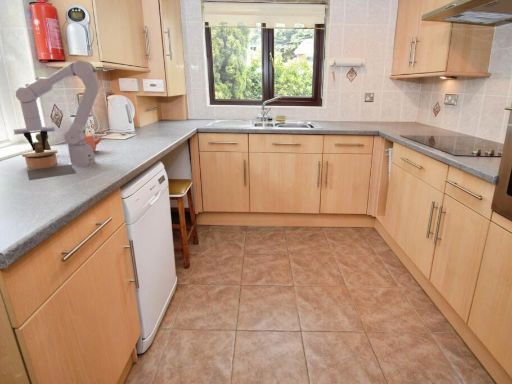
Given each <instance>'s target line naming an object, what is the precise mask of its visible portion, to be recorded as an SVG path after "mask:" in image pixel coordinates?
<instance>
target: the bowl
mask: <svg viewBox="0 0 512 384" xmlns="http://www.w3.org/2000/svg"><path fill="white" fill-rule="evenodd" d="M56 154H57V153H56ZM56 154H51V155H45V156H36V157H24V160H25V164H26V167H27V168H29V169H40V168H47V167H55V166H56V165H57V164H58V159H57V155H56Z"/></svg>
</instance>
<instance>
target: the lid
mask: <svg viewBox="0 0 512 384" xmlns="http://www.w3.org/2000/svg"><path fill="white" fill-rule="evenodd" d="M33 145H34V148H35V150H34V151H29V152H28V151H27V152H24V153H22V154H21V157H23V158H25V157H36V156H45V155H51V154H58V150H56V149H51V150H44V149H43V144H42V142H38V141H35V142H34V141H33Z"/></svg>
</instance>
